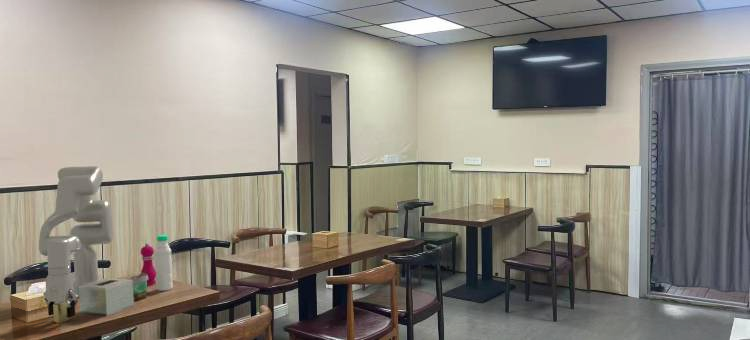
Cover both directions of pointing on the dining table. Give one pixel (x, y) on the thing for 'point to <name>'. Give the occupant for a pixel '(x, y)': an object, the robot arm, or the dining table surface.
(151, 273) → the pepper mill
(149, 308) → the dining table surface
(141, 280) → the half-round slice
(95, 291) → the box
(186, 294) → the dining table surface
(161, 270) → the water bottle
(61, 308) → the beige rectangular block
